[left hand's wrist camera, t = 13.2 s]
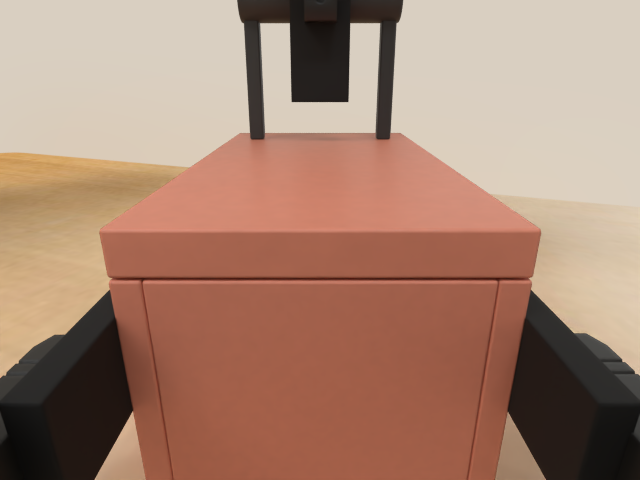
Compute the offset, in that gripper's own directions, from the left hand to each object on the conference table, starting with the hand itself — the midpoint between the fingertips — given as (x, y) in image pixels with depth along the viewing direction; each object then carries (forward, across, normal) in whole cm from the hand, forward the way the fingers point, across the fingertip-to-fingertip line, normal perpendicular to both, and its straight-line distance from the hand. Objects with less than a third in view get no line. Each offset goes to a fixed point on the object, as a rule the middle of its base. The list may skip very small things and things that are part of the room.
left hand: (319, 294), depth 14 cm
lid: (+5, 0, +2) cm, 5 cm away
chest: (+5, 0, -7) cm, 8 cm away
